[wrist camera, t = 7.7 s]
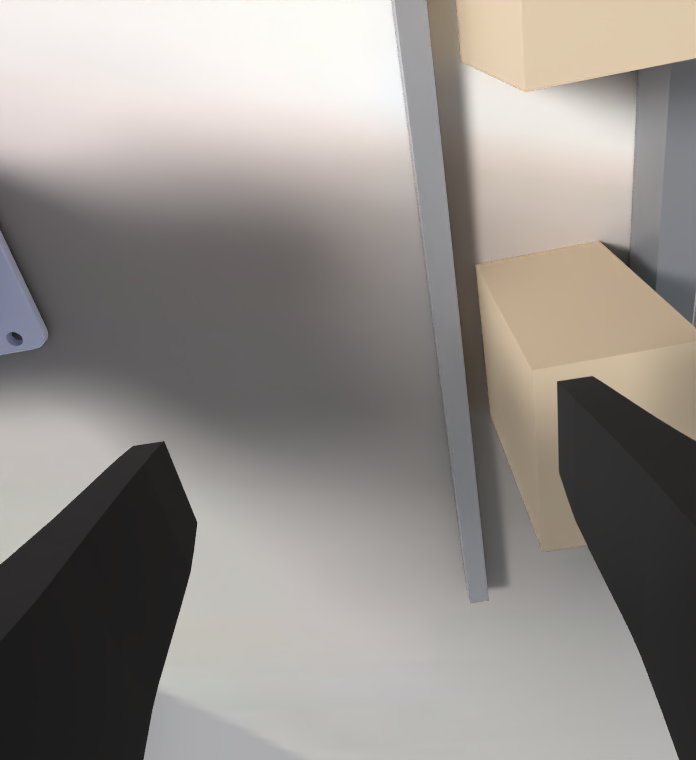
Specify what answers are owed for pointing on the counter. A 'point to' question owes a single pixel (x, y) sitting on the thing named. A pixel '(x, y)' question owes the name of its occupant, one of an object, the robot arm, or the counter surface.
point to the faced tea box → (572, 38)
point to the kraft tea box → (575, 361)
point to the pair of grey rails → (647, 247)
